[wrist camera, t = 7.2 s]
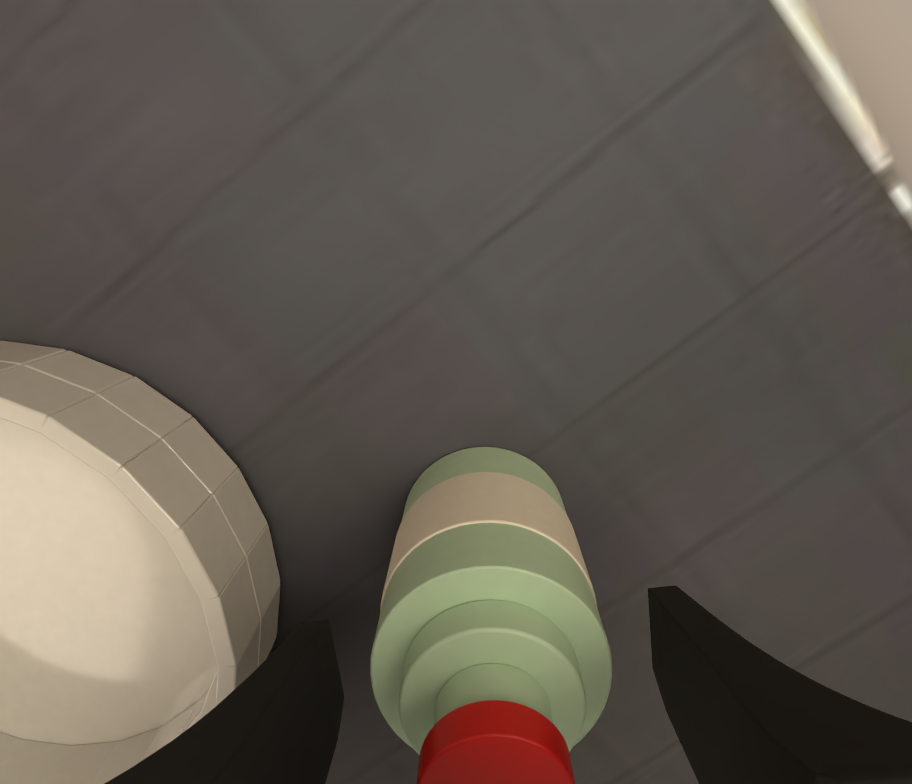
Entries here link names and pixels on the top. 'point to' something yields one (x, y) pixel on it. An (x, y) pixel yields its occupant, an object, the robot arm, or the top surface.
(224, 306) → the top surface
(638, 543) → the top surface
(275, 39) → the top surface
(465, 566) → the bottle
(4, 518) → the pan
